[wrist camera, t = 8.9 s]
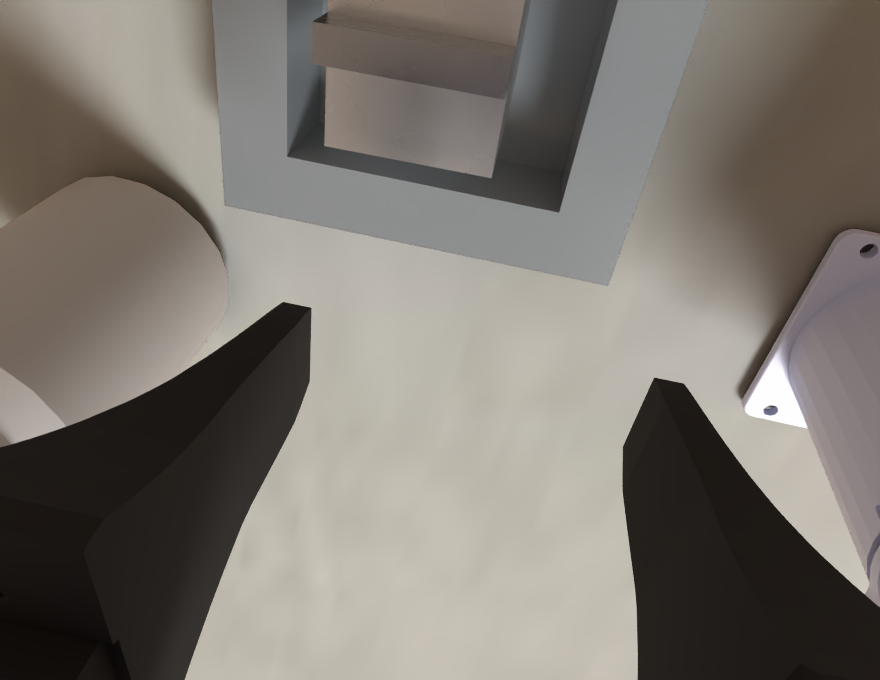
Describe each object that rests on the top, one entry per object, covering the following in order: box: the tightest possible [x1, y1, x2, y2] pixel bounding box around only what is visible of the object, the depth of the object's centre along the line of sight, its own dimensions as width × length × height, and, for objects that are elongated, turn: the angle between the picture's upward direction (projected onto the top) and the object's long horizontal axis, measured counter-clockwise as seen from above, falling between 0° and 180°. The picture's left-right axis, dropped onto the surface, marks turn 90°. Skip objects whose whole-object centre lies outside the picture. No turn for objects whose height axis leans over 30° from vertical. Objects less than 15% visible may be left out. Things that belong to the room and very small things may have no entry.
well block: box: [212, 0, 709, 286], centre depth 18 cm, size 12×12×4 cm
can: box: [0, 176, 229, 447], centre depth 22 cm, size 8×8×12 cm
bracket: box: [312, 0, 531, 178], centre depth 16 cm, size 4×5×7 cm
